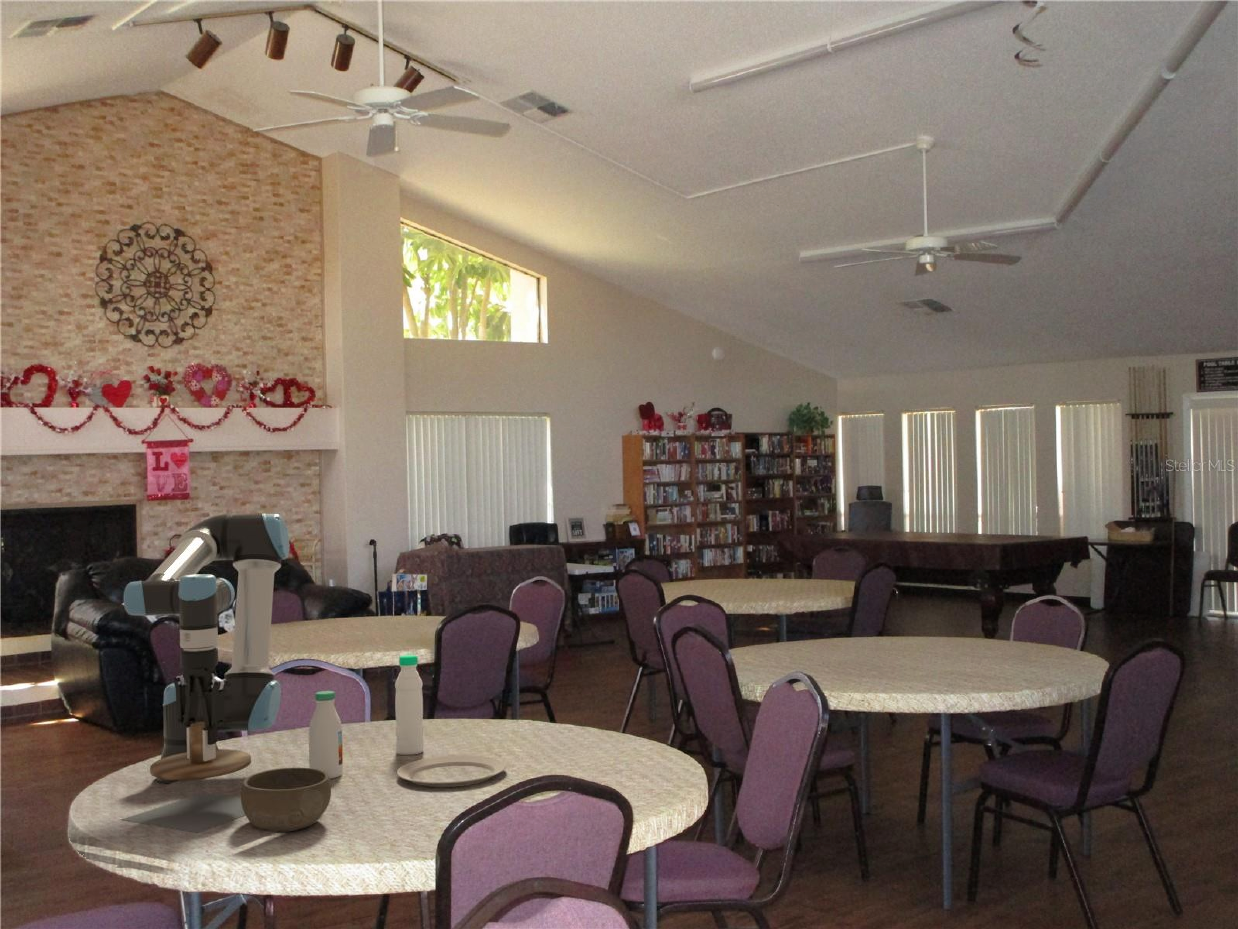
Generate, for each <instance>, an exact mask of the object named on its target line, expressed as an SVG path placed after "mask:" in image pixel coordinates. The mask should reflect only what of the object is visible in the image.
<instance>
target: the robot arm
mask: <svg viewBox="0 0 1238 929" xmlns="http://www.w3.org/2000/svg"><path fill="white" fill-rule="evenodd" d="M290 547H291V546H290V536H289V532H288V528H287V524H286V522H285V519H284V518H283V516H281V515H280V514H278V513H265V512H263V513H247V514H246V513H244V514H243V513H238V514H218V515H214V516H210V517H209V518H208V517H207V518H206V519H204V520H202V521H199V522H198V523H196V524H194V525H193V526H191V527H190V528H188V529H187V530H186V531H185V532H183V534H182V535H181V536H180V537H179V539H178V541H177V544H176V547H175V549H174V550H173V551H172V552H171V553H170V554H169V556H167V557H166V559H165V560H164V561H163V562H162V563H160V565H159V566H158V567H157V569H156V570H155V571H154V572H153V573H152V574H151V575H150V576H149V577H148V578H147V579H146V580H145V581H144V580H137V581H130V582H129V583H128V584H126V585H125V588H124V592H123V606H124V610H125V612H126V613H127V614H128V615H130V616H143V617H146V616H147V617H149V616H151V617H152V616H171V615H172V616H173V615H176V616H177V615H179V646H180V648H182V649H181V650H180V653H179V654H180V655H179V657H180V658H179V659H180V660H179V661H180V662H179V663H180V664H179V665H180V668H182V669H183V671H182V674H181V675H178V676H174V677H173V679H172V682H173V683H171V684H169V685H166V687H165V689H164V691H163V703H162V707H163V749H162V752H161V756H160V759H163V758H166V757H169V756H173V755H177V754H181V753H187V758H188V759H191V727H190V725H191V724H193V723H197V722H205V728H203V730H202V733H203V761H208V760H211V759H214V758H216V749H219V747H218V744H217V743H218V735H217V732H219V733H220V732H245V731H247V732H248V731H249V732H254V731H263V730H264V731H265V730H267V729H270V728H271V727H272V726H273V725H274V723H275V721H276V719H277V717H278V714H279V711H280V705H281V700H282V692H281V691H282V686H281V683H280V682H279V681H278V680H276V679H275V673H274V672H273V671H272V670H271V669H270V667H269V661H270V659H269V658H270V645H271V644H270V643H271V633H272V631H271V629H272V617H273V616H272V615H273V614H272V613H273V600H274V598H273V597H274V584H275V573H276V572H277V571H279V569H281V568H282V560H286V559H288V558H289V555H290ZM215 561H232V566H233V567H234V569H235V570H236V571H237V572H238V576H237V579H238V580H237V588H236V590H237V591H236V592H235V588H234V586H233V585H232V583H231V582H230V581H229V580H227V579H225V578H223V577H216V576H215V575H213V574H209V573H207V574H206V573H203V574H201V573H200V574H199V571H201V569H202V568H203V567H205V566H207V565H209V564H210V563H212V562H215ZM235 594H236V605H235V617H234V631H233V647H232V658H231V660H232V661H231V667H230V669H228V670H227V672H225V673H224V678H223V679H221V678H219V677H218V673H217V672H216V671H217V670H216V666H217V665H218V664H219V649H218V647H216V646H218V645H219V635H218V634H219V633H218V632H219V631H218V629H219V628H218V614H219V613H222V612H224V611H226V610H227V609H228V608H229V607H230V606H231V605H232V604H233V602H234V600H235ZM156 781H157V782H159V783H162V784H169V785H171V784H173V783H177V782H180V781H182V780H167V779H160V778H157V777H156Z"/></svg>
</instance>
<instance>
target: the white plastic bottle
mask: <svg viewBox="0 0 1238 929" xmlns="http://www.w3.org/2000/svg"><path fill="white" fill-rule="evenodd" d="M418 662H419V661H418V656H417V655H414V654H405V655H401V656H400V657H399V659H398V664H399V667H400V672H399V673H398V676H397V678H396V681H395V682H394V688H395V698H394V701H395V703H394V705H395V708H394V709H395V723H396V726H395V737H396V741H395V751H396V753H397V754H398V755H400V756H413V755H417V754H421V753H422V752H424V749H425V748H424V747H425V746H424V737H423V736H424V726H423V719H424V718H423V717H424V698H423V680H422V678H421V677H420V675H419V674H420V673H419V672H418V670H417V666H418Z"/></svg>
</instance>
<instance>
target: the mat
mask: <svg viewBox="0 0 1238 929" xmlns="http://www.w3.org/2000/svg"><path fill="white" fill-rule="evenodd" d="M243 817H246V815H245V813H244V811H243V808H242V804H241V797H238V796H231V795H230V796H229V795H223V794H216V793H210V792H203V793H198V794H196V795H193V796H190V797H187V798H184V799H180V800H177V801H175V802H171V803H168V804H165V805H162V806H159V807H155V808H151V809H149V810H146V811H143V812H140V813H137V814H134V815H130V816H128V817H125V818H124V817H123V818H122V819H120V820H121V821H126V822H132V823H137V824H142V825H148V826H154V827H160V828H165V829H171V830H177V831H184V832H189V833H195V834H198V833H202V832H203V831H206V830H209V829H212V828H215V827H218V826H220V825H223V824H225V823H228V822H231V821H234V820H237V819H240V818H243Z"/></svg>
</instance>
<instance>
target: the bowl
mask: <svg viewBox="0 0 1238 929" xmlns="http://www.w3.org/2000/svg"><path fill="white" fill-rule="evenodd" d="M331 795H332V785H331V779H330V778H329V775H328V773H326V772H325V771H323V770H319V769H313V768H309V767H282V768H273V769H268V770H263V771H261V772H257V773H254V774H251V775H249V776H248V777H246V778H245V779H243V781H242V786H241V790H240V798H241V804H242V808H243V811H244V813H245V815H246V816H245V817H246V818H247V820H248V821H249V822H250V823H251V824H252V825H253V826H254V827H256V828H257V829H260V830H264V831H270V832H272V831H273V832H275V833H287V832H293V831H299V830H302V829H304V828H308V827H310V826H312V825H314V824H315V823H316V822H317V821H319V819H320V818H321V817H322V816H323V815H324V813H325V812H326V810H327V809H328V807H329V804H330V802H331V797H332V796H331Z"/></svg>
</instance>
